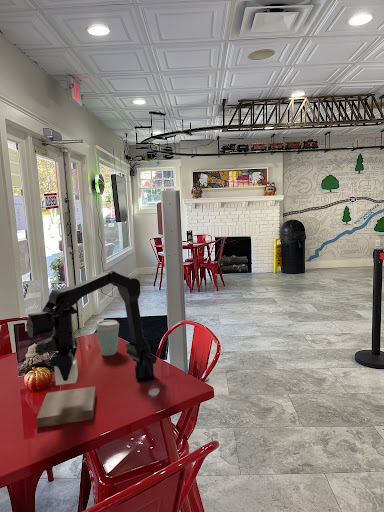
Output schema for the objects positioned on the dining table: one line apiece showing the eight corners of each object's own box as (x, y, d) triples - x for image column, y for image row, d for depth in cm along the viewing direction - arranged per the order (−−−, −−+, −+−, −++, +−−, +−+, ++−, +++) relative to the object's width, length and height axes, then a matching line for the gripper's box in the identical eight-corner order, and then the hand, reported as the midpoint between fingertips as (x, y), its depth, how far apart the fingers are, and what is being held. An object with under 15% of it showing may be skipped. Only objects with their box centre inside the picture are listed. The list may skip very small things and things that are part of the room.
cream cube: (77, 374, 119) (76, 357, 118) (75, 382, 113) (74, 364, 112) (58, 377, 118) (57, 359, 117) (55, 385, 112) (54, 366, 111)
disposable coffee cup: (113, 347, 171) (111, 316, 169) (125, 352, 163) (123, 321, 161) (93, 353, 164) (90, 322, 162) (105, 360, 156) (102, 326, 154)
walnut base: (95, 394, 126) (95, 386, 125) (92, 419, 110) (92, 410, 110) (47, 401, 123) (46, 392, 122) (37, 427, 107) (36, 418, 107)
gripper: (42, 323, 121) (45, 367, 123) (29, 341, 103) (33, 393, 104) (76, 320, 123) (79, 364, 125) (69, 337, 105) (73, 388, 107)
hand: (66, 376), depth 115 cm, fingers closed on cream cube, 6 cm apart
